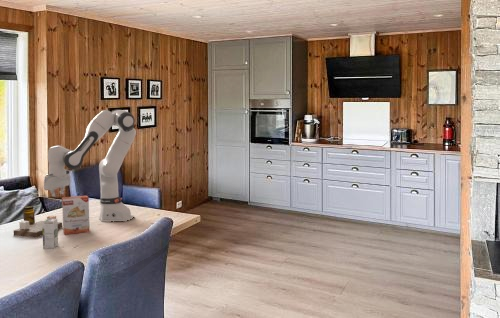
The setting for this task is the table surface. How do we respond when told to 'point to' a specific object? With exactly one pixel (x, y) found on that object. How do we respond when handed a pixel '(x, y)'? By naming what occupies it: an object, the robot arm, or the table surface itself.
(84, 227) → the cracker box
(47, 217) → the orange fader
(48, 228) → the syrup box
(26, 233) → the console
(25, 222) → the white fader
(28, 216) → the condiment
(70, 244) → the table surface
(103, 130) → the robot arm
